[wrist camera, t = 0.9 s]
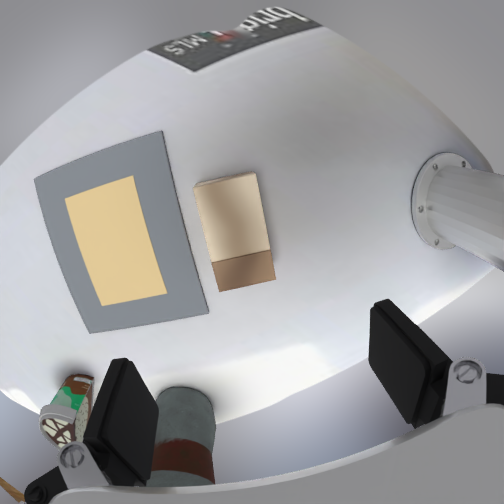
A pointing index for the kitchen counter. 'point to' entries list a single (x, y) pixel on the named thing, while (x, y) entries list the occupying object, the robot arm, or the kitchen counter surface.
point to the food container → (68, 411)
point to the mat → (122, 237)
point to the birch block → (235, 230)
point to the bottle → (183, 440)
